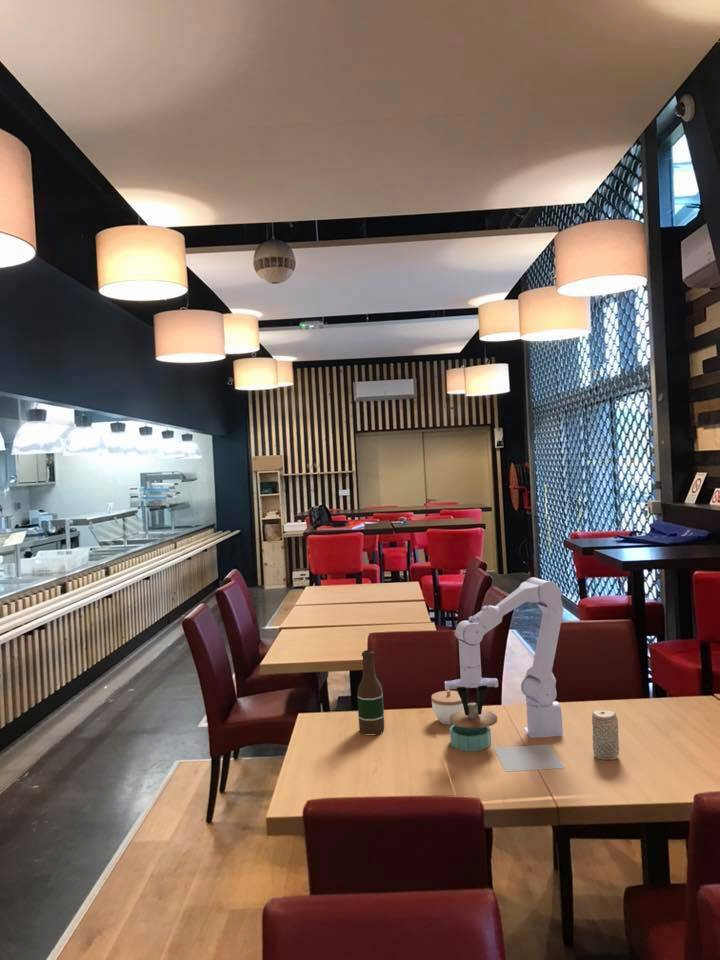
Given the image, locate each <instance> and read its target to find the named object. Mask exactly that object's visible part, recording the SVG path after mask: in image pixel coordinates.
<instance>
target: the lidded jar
mask: <svg viewBox="0 0 720 960" xmlns="http://www.w3.org/2000/svg"><path fill="white" fill-rule="evenodd" d="M430 699H431V705H432V706H431V707H432V711H433V714H434V716H435V718H436V719H437V720H439V723H441V724H443V725H446V726H447V725H448V726H452V725H453V724H452V723H451V722H450V715H451V714H453V713H455V712H458V711H462V710H464V707H463V704H462V701H461V698H460V696H459V694H458V692H457V690H451V689H450V690H442V691H441V690H440V691H437V692H435V693H432V695H431V698H430Z"/></svg>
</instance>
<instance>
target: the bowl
mask: <svg viewBox="0 0 720 960" xmlns="http://www.w3.org/2000/svg"><path fill="white" fill-rule="evenodd" d="M448 731H449V743H450V745H451V747H453V748H454V749H456V750H460V751H464V752H477V751H478V752H479V751H481V750H482V751H483V750H485V749H488V748H489V747H490V746H491V744H492V735H491V734H492V733H491V728H490V726H489V727H484V728H463V727H458V726H455V725H450V727H449V730H448Z"/></svg>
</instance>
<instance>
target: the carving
mask: <svg viewBox="0 0 720 960" xmlns="http://www.w3.org/2000/svg"><path fill="white" fill-rule="evenodd" d="M591 719H592V720H591V724H592V751H593V754H594V757H595V758H596V759H598V760H603V761H604V760H605V761H613V760H616V759H617V758H619V755H620V745H619V742H620V741H619V739H620V738H619V728H620V727H619V719H618V716H617V713H616V712H614V711H612V710H608V709H607V710H605V709H599V710H594V711H593V712H592V715H591Z"/></svg>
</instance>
